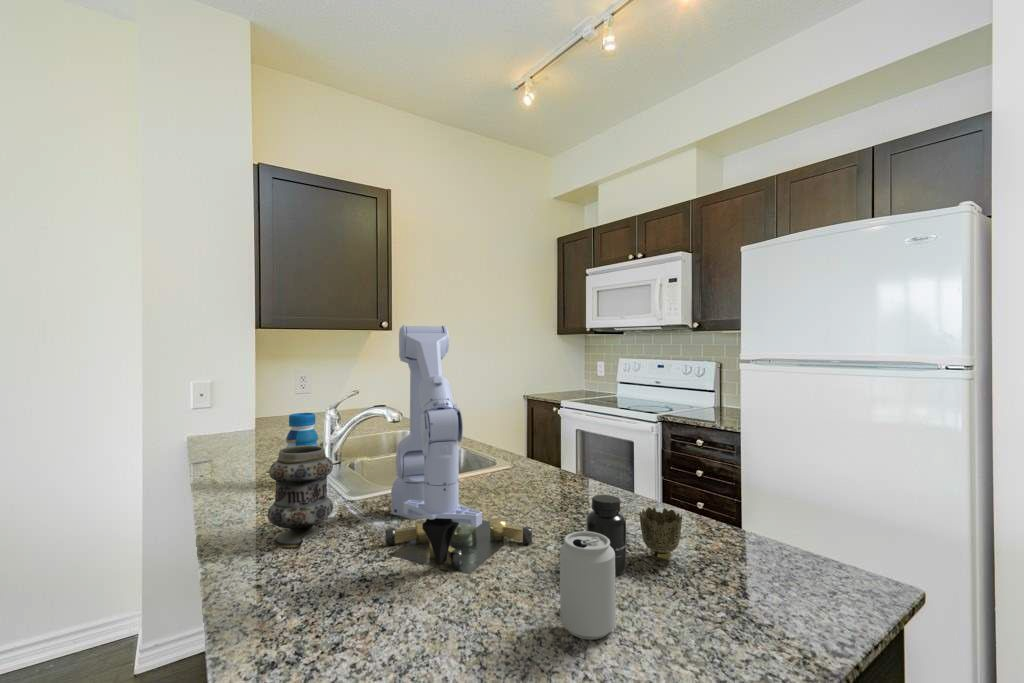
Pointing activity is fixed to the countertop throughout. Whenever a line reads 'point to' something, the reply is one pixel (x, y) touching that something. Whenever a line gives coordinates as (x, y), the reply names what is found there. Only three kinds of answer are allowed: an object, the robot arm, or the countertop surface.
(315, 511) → the apothecary jar
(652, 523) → the cup
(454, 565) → the lever front
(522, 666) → the countertop surface
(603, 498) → the supplement bottle
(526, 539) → the lever right
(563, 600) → the can
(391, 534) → the lever left
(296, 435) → the beverage bottle
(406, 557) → the plate
